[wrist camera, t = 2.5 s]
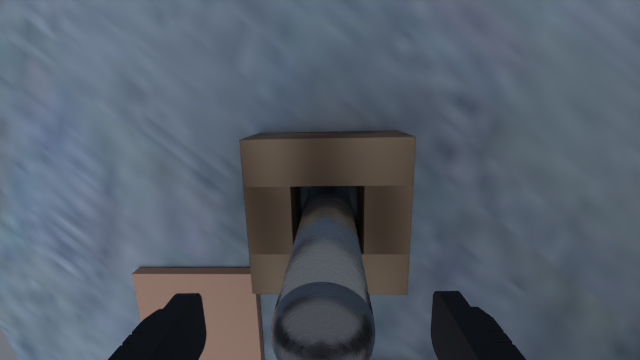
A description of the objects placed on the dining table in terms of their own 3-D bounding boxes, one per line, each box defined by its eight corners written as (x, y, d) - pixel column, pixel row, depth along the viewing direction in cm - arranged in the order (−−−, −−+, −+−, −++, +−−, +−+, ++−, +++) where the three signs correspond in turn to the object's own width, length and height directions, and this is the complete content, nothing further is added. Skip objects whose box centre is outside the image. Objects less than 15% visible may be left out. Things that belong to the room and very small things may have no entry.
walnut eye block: (396, 130, 21) (415, 136, 17) (392, 256, 24) (407, 294, 19) (260, 133, 22) (239, 139, 17) (268, 256, 24) (252, 293, 19)
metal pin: (349, 176, 22) (385, 319, 7) (349, 216, 23) (381, 421, 8) (307, 177, 23) (255, 317, 7) (308, 217, 23) (264, 418, 8)
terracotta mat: (257, 267, 24) (254, 274, 23) (265, 367, 27) (262, 377, 26) (139, 267, 25) (131, 273, 24) (157, 365, 27) (150, 375, 26)
